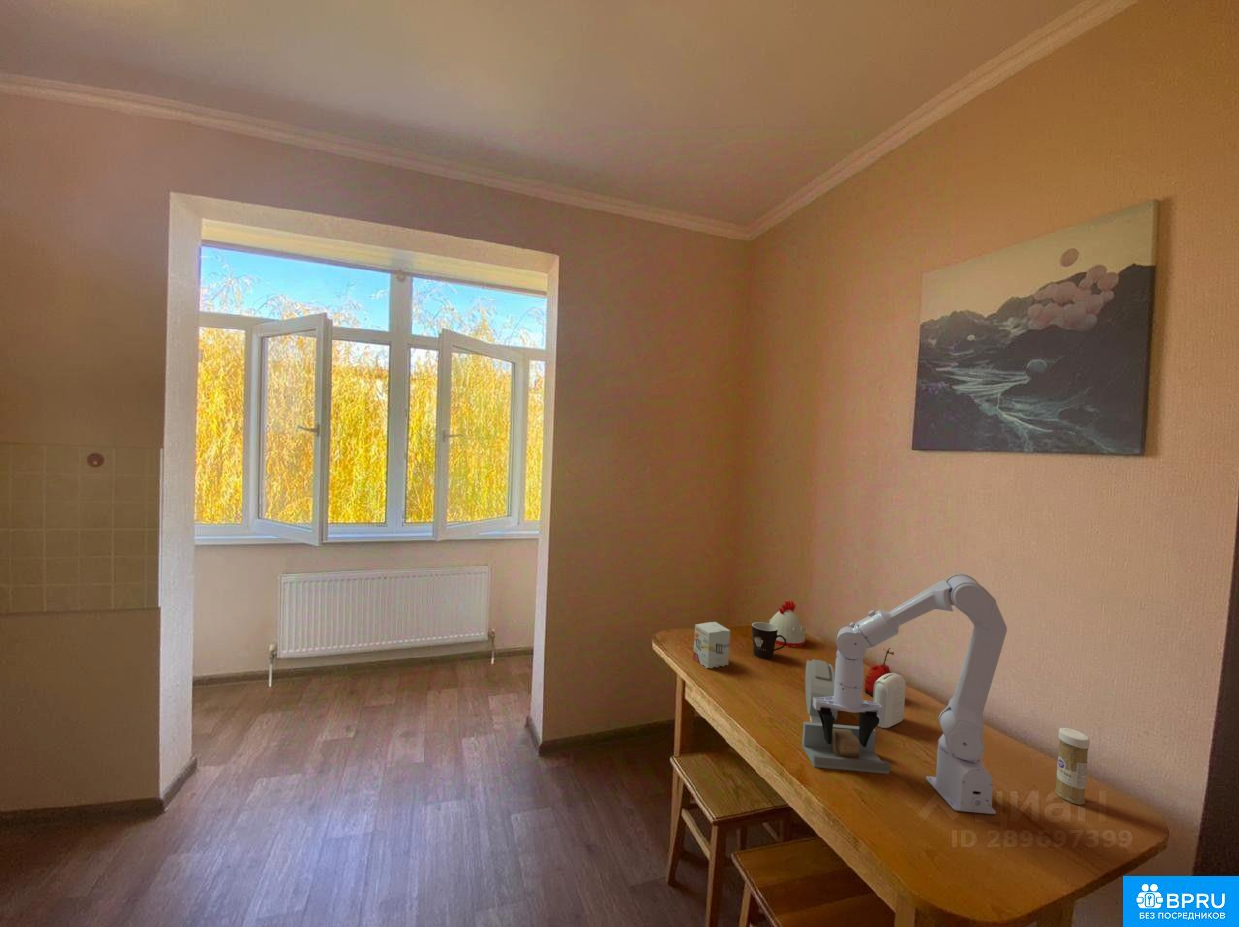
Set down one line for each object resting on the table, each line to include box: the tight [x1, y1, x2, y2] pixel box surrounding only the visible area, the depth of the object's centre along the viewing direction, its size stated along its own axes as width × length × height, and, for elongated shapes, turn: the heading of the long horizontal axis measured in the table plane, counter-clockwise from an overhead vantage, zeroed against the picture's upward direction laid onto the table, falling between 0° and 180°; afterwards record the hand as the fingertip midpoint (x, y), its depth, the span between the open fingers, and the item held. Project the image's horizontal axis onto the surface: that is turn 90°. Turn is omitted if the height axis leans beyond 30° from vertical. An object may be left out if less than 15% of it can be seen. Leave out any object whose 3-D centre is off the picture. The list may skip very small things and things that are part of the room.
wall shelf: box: [801, 721, 891, 775], centre depth 105 cm, size 8×16×6 cm, turn 87°
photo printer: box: [872, 672, 907, 729], centre depth 123 cm, size 10×4×12 cm, turn 123°
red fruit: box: [863, 647, 895, 697], centre depth 138 cm, size 8×7×15 cm
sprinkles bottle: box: [1054, 727, 1090, 805], centre depth 97 cm, size 5×5×14 cm
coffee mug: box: [751, 621, 786, 660], centre depth 161 cm, size 12×9×10 cm
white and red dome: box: [768, 600, 806, 648], centre depth 178 cm, size 14×14×15 cm
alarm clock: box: [804, 658, 839, 723], centre depth 126 cm, size 23×6×13 cm, turn 161°
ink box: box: [692, 621, 731, 669], centre depth 154 cm, size 9×9×12 cm
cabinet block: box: [832, 729, 860, 759], centre depth 105 cm, size 5×4×5 cm
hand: (845, 742), depth 106 cm, fingers open, 7 cm apart
